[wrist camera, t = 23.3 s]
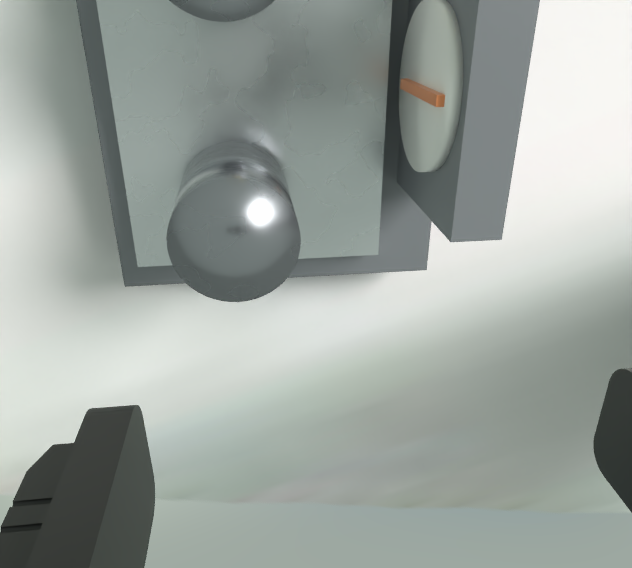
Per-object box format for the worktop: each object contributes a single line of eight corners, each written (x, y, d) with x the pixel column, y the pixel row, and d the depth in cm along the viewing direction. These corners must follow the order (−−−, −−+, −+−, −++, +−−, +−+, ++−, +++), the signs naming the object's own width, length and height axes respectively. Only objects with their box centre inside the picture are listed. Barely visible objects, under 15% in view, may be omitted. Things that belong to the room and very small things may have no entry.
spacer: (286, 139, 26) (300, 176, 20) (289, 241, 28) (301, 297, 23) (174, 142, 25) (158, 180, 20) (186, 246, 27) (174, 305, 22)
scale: (446, -176, 24) (586, -295, 15) (411, 248, 33) (483, 350, 24) (62, -191, 23) (-70, -338, 13) (134, 262, 32) (88, 378, 22)
